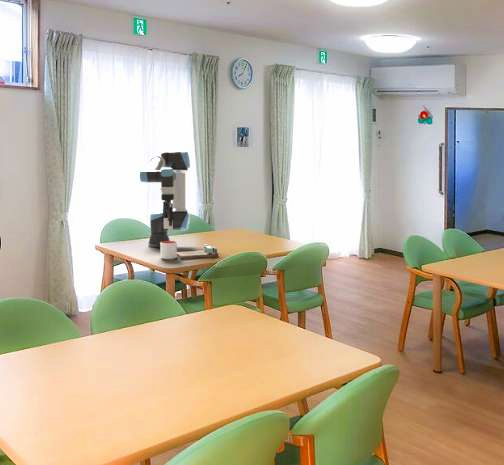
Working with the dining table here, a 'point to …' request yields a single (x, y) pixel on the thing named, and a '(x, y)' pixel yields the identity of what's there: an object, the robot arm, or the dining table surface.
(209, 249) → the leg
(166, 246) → the cup
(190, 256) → the brown tray
